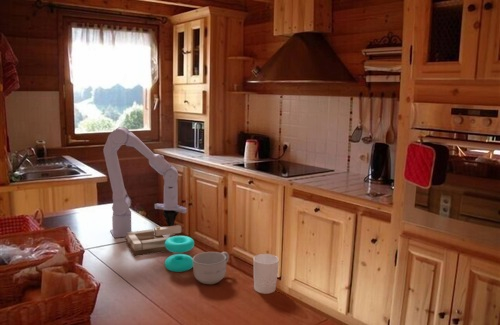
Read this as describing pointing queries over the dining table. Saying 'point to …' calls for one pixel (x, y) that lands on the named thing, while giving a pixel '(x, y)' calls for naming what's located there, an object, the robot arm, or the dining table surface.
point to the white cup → (265, 273)
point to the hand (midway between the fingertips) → (170, 227)
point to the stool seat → (145, 242)
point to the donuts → (179, 260)
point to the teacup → (210, 266)
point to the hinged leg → (167, 230)
